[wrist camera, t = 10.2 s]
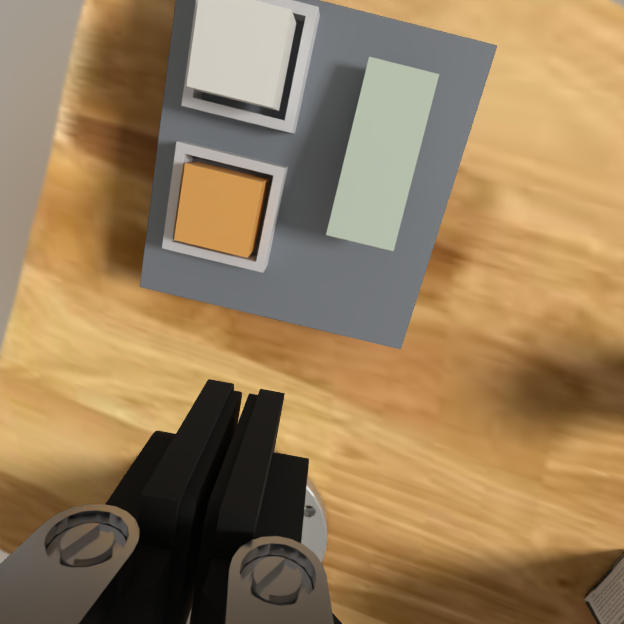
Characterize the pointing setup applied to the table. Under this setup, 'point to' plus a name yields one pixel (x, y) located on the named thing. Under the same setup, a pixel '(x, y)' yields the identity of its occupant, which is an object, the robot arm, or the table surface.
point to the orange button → (220, 208)
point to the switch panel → (311, 173)
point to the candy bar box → (609, 596)
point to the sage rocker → (381, 153)
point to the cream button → (241, 50)
